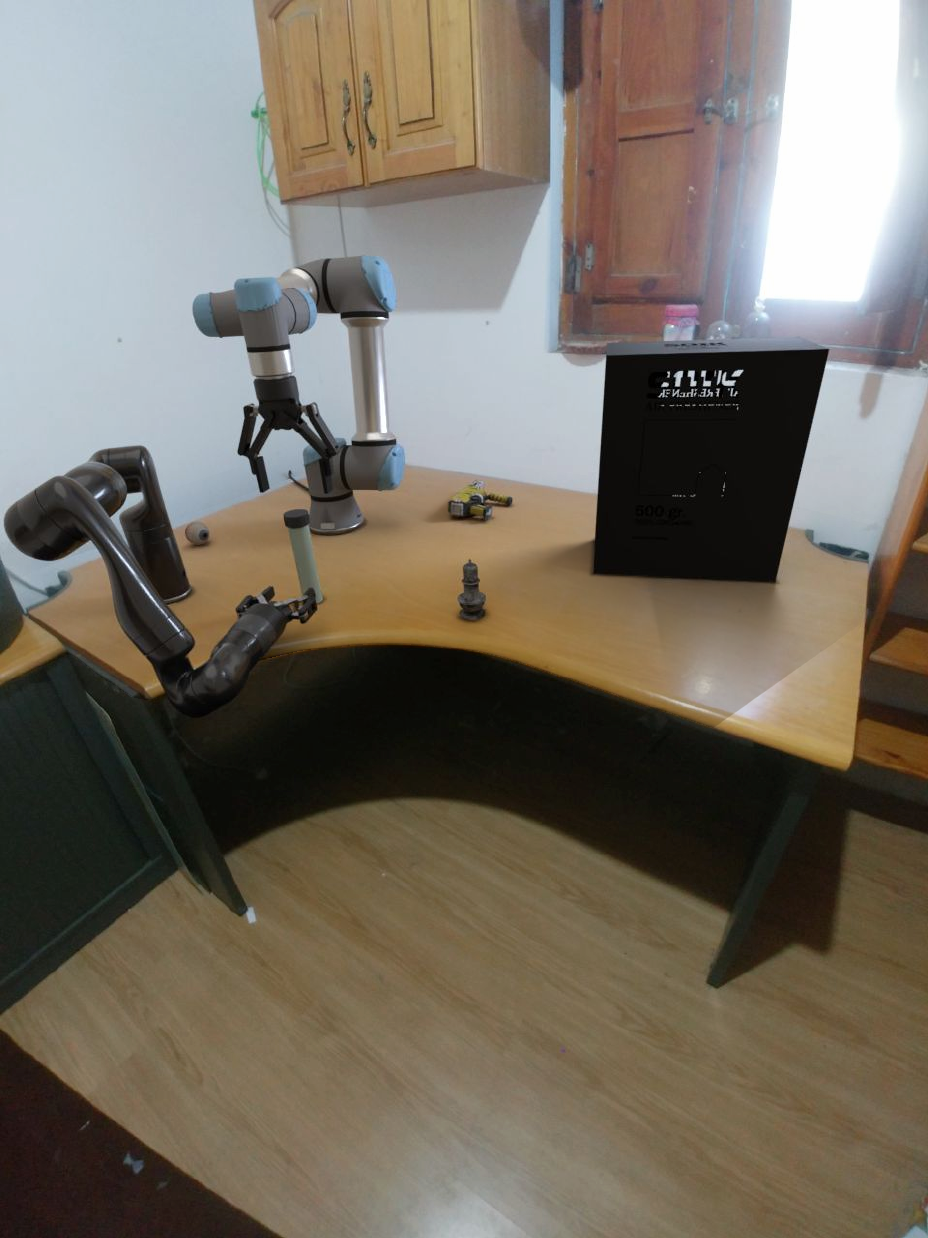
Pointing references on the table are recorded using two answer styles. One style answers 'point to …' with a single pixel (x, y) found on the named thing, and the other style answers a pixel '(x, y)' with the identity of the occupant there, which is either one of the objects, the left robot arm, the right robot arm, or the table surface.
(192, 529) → the eyeball
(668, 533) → the black angular block
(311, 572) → the bottle
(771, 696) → the table surface
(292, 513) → the lid
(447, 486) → the table surface
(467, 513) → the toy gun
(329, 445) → the right robot arm
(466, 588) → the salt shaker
